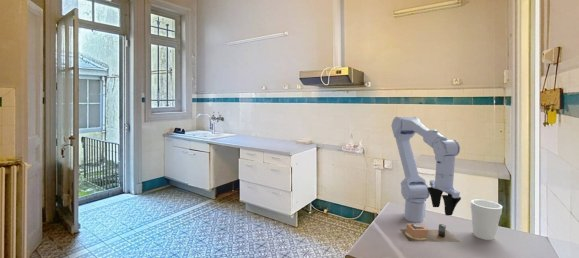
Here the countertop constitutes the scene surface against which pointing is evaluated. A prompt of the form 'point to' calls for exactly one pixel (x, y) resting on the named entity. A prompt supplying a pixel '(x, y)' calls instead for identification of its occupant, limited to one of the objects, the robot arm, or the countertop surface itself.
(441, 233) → the stand rod
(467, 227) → the countertop surface
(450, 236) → the jig board
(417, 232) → the collar
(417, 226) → the hub
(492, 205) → the foam cup
